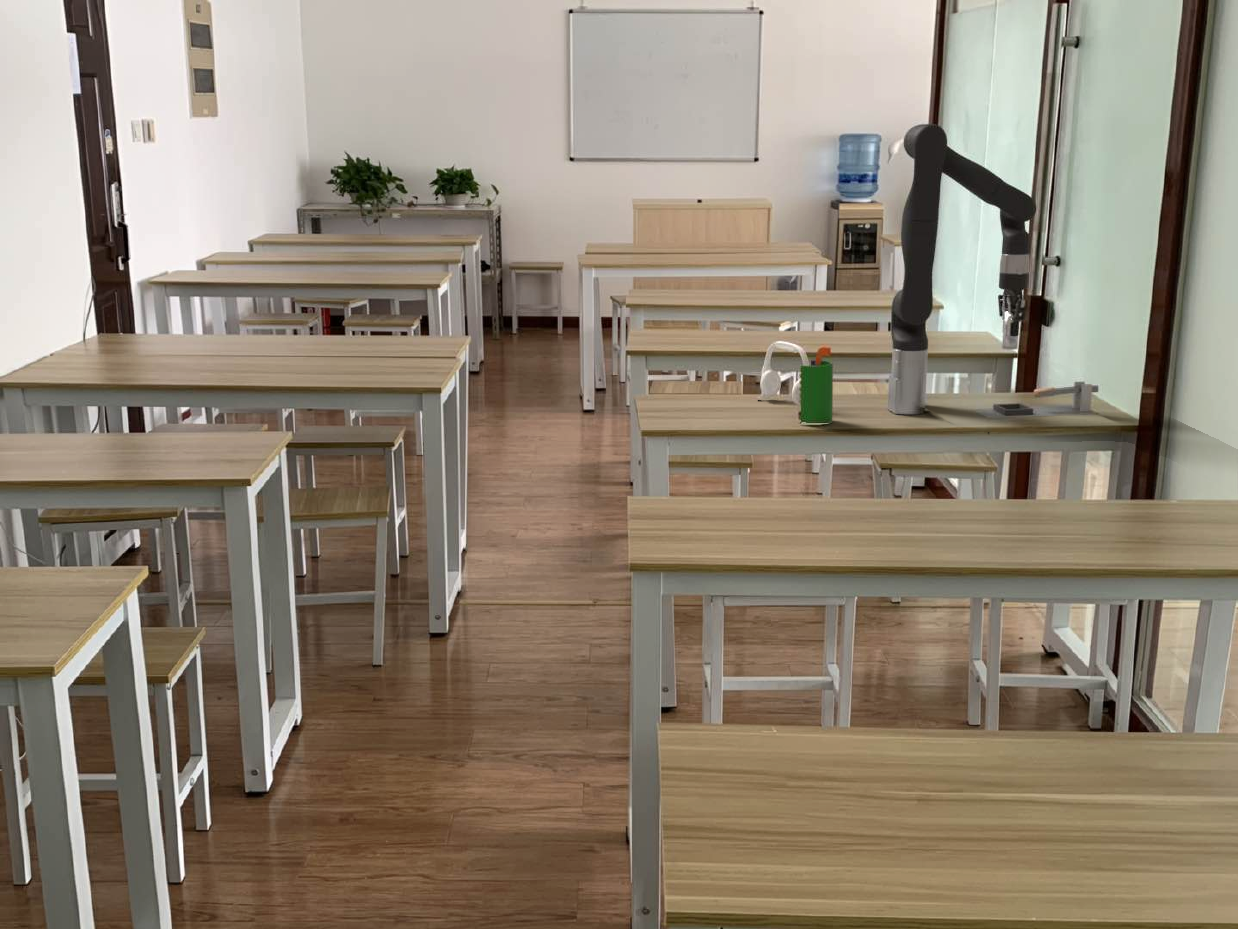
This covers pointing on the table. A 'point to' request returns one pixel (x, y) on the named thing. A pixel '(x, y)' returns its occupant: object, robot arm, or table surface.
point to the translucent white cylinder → (1008, 334)
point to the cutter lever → (1060, 391)
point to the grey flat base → (1044, 407)
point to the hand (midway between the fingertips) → (1010, 334)
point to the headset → (771, 378)
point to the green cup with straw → (817, 389)
